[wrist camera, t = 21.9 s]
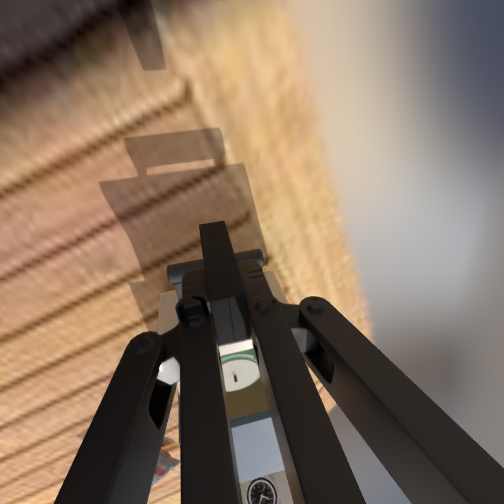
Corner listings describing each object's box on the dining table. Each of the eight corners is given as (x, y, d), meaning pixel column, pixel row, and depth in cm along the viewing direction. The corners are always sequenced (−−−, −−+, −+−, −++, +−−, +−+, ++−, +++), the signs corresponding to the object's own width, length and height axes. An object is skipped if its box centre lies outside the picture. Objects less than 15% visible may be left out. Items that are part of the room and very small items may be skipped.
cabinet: (178, 356, 34) (178, 442, 26) (277, 333, 36) (305, 407, 28) (198, 415, 42) (204, 494, 34) (278, 394, 44) (301, 465, 36)
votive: (192, 320, 28) (195, 375, 23) (244, 302, 29) (258, 353, 23) (209, 352, 32) (216, 406, 26) (256, 335, 32) (271, 386, 27)
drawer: (141, 238, 23) (128, 301, 17) (271, 217, 25) (303, 267, 19) (187, 373, 34) (189, 441, 28) (275, 351, 36) (296, 412, 30)
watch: (261, 425, 48) (280, 506, 39) (275, 441, 53) (295, 517, 44) (232, 438, 48) (244, 522, 39) (248, 452, 53) (263, 531, 44)
